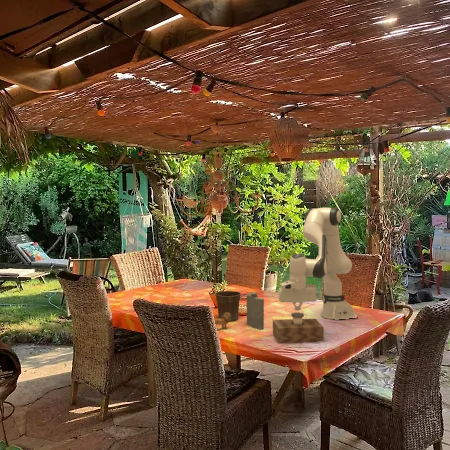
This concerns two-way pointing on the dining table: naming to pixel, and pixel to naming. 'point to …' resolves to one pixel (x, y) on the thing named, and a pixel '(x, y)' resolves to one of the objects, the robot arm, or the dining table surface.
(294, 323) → the knob
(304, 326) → the block
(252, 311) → the hip flask
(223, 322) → the lion figurine
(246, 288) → the dining table surface
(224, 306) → the plant pot
